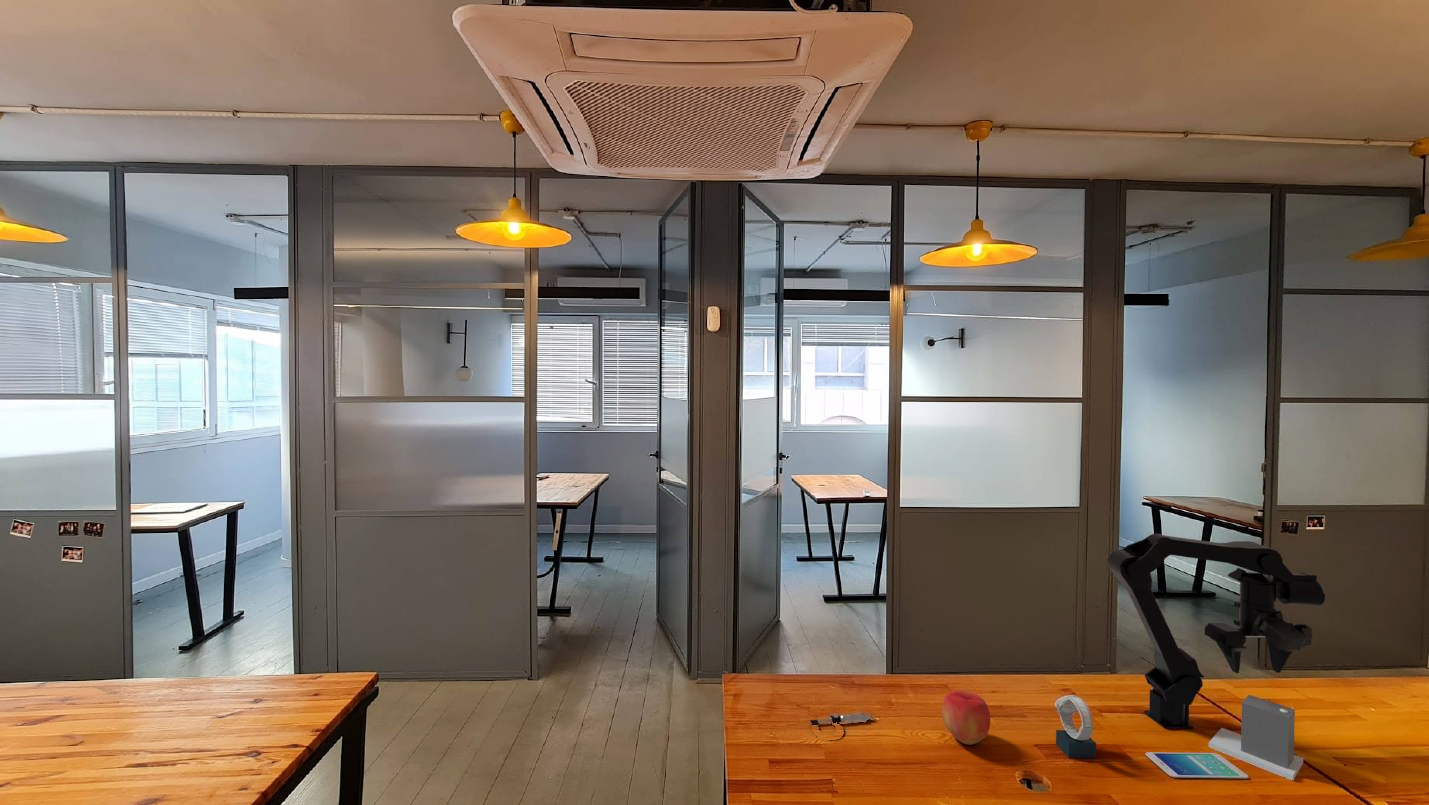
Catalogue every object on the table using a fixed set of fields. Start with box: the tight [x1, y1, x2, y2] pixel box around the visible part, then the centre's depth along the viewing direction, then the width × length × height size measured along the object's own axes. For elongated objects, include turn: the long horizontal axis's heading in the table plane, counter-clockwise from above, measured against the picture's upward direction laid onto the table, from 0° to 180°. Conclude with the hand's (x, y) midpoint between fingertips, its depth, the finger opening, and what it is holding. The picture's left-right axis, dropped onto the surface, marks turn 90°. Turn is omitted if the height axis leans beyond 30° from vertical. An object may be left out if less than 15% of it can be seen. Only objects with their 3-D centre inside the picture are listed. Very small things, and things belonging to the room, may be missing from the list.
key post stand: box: [1208, 727, 1304, 781], centre depth 116 cm, size 12×9×5 cm
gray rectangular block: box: [1240, 694, 1296, 769], centre depth 114 cm, size 7×5×10 cm
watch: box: [1054, 694, 1097, 759], centre depth 117 cm, size 6×8×11 cm
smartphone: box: [1145, 751, 1249, 781], centre depth 112 cm, size 8×1×15 cm
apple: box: [941, 689, 991, 746], centre depth 121 cm, size 10×10×10 cm
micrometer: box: [809, 712, 874, 730], centre depth 124 cm, size 15×7×3 cm, turn 98°
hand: (1256, 672), depth 124 cm, fingers open, 9 cm apart
